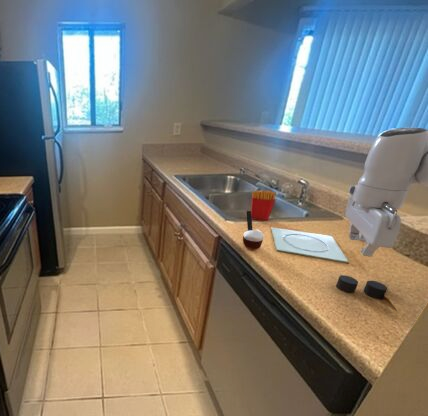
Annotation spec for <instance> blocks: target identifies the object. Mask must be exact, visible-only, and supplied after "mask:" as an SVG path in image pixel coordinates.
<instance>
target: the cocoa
mask: <svg viewBox="0 0 428 416" xmlns="http://www.w3.org/2000/svg"><path fill="white" fill-rule="evenodd" d="M252 220H253V219H252V216H251V210H246V222H247V223H246V224H247V230H246V231H245V232H244V233H243V236H242V243H243V245H244V247H246V248H247V249H250V250H259V249H260V248H261V246H262V244H263V242H264V241H263V240H264V238H265V235H264V234H263V232H262V231H260V230H259V229H253V221H252Z"/></svg>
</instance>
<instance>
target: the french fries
mask: <svg viewBox="0 0 428 416" xmlns="http://www.w3.org/2000/svg"><path fill="white" fill-rule="evenodd" d="M251 195H252V196H251V204H250V211H251V216H252V220H256V221H257V219H258V221H269V219H270V216H271V214H272V210H273V208H274V205H275V202H276V199H275V197H276V195H277V192H273V191H272V190H263V189H261V190H259V189H256V190H252V191H251Z"/></svg>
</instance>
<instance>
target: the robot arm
mask: <svg viewBox="0 0 428 416" xmlns="http://www.w3.org/2000/svg"><path fill="white" fill-rule="evenodd" d="M363 167H364V169H363V174H362V175H361V177H360V178H359V180H358V182H357V184H354V185H350V187H349V190H348V194H350V195H349V197H348V199H347V202H346V206H345V207H346V208H345V213H344V214H345V218H346V219H347V220H348V221H349V222H350V223H349V233H348V238H349V239H350V240H351V241H359V240H358V239H359V236H361V235H363V236H364V237H365V238H366V239H367V241H365V242H366V245H365V246H362V248H361V250H360V253H361V255H362V256H363V257H367V258H372V257H373V255H374V253H375V251H377V250H378V249H380V248H385V249H390V248H392V247H393V246H395V243H396V240H397V239H398V235H399V232H400V229H401V225H402V218H401V216H400V215H399V214H398V213H397V212H398V210H400V209H402V207H403V205H404V202H405V200H406V199H407V196H408V194H409V191H410V188H411V185H412V184H418V185H420V186H423V187H426V188H428V129H426V128H423V127H414V126H413V127H411V126H410V127H395V128H390V129H386V130H385V131H384V130H383V131H382V132H381V133H379V134H378V136H377V137H376V138H375V139H374V141H373V143H372V145H371V147H370V148H369V151H368V154H367V156H366V159H365V162H364V166H363Z"/></svg>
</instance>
